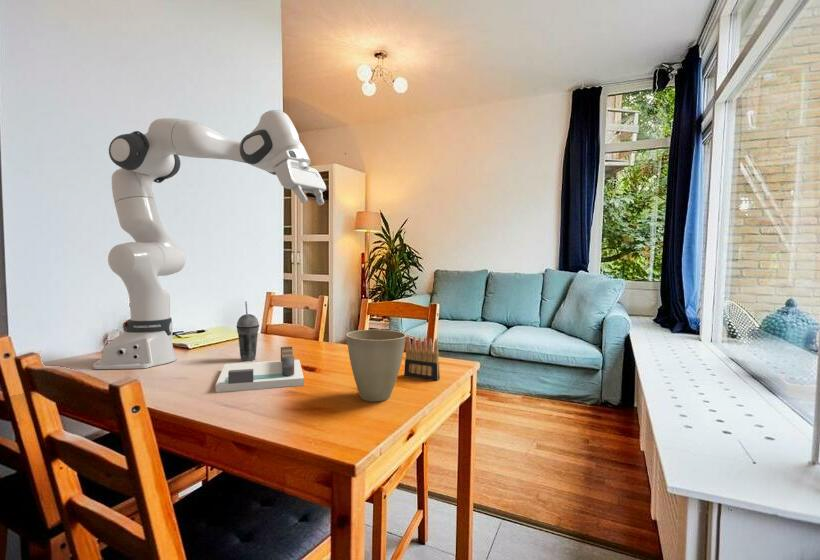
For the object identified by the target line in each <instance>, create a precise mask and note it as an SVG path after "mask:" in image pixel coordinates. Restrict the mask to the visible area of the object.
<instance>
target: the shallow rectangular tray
mask: <svg viewBox="0 0 820 560" xmlns="http://www.w3.org/2000/svg"><path fill="white" fill-rule="evenodd" d="M302 386H305V376H304V374H303V370H302V365H301V362H300V359H294V374H293V375H288V376H285V375H282V361H281V360H270V361H267V360H266V361H250V362H238V363H237V362H236V363H225V364H224V366H223V368H222V370H221V371H220V374H219V376H218V378H217V381H216V383H215V393H227V392H240V391H251V390H262V389H263V390H264V389H275V388H289V387H302Z"/></svg>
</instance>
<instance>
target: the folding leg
mask: <svg viewBox="0 0 820 560" xmlns="http://www.w3.org/2000/svg"><path fill="white" fill-rule="evenodd" d="M293 353H294V352H293V347H292V346H281V347H280V361H282V375H285V376H288V375H293V374H294V360H295V356H294V354H293Z"/></svg>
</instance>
